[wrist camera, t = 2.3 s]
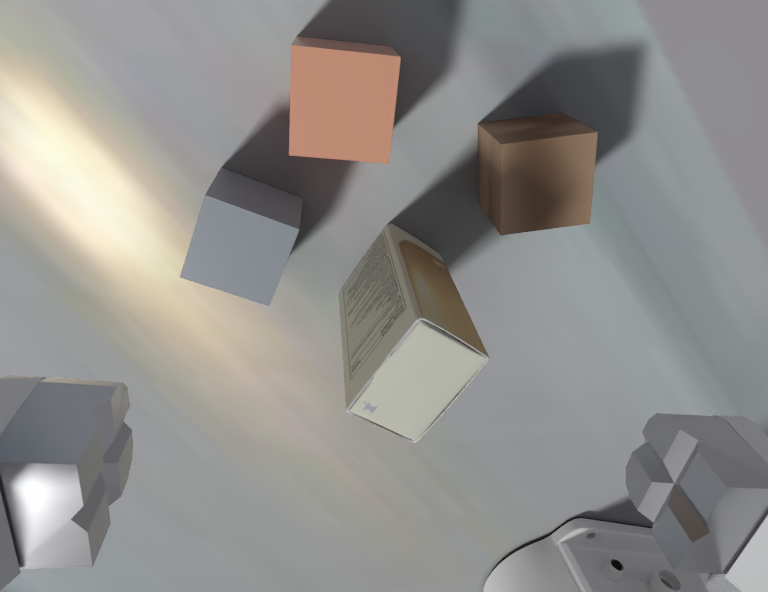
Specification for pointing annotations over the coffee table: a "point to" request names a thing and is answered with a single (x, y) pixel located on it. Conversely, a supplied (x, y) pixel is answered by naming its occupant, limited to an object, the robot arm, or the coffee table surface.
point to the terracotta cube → (342, 99)
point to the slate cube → (243, 237)
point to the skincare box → (405, 337)
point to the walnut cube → (536, 172)
